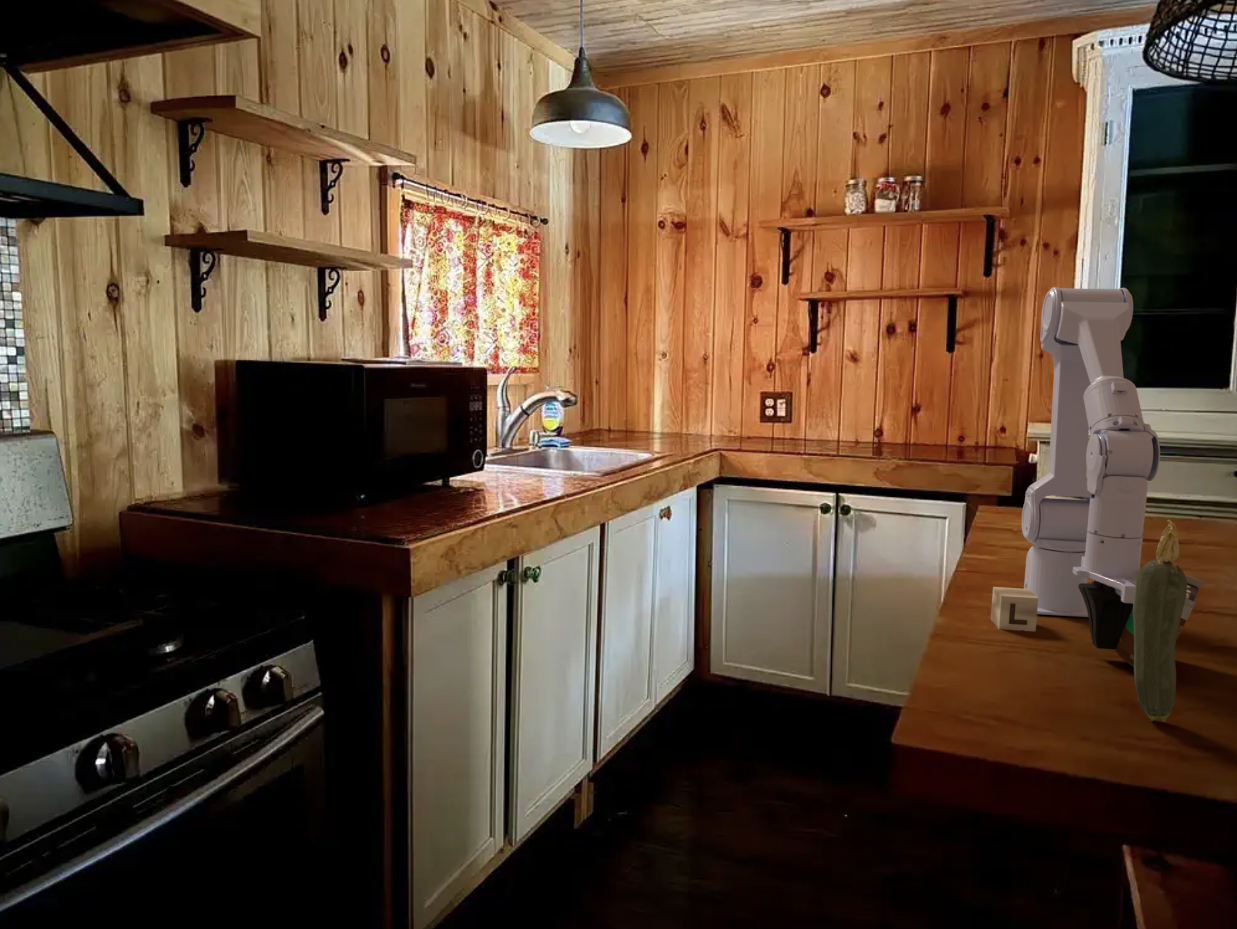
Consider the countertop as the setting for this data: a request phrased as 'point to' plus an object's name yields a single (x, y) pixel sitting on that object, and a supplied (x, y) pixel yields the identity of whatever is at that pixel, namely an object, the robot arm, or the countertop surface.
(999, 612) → the letter cube
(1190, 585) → the food container
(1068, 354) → the robot arm
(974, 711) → the countertop surface
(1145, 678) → the vegetable
